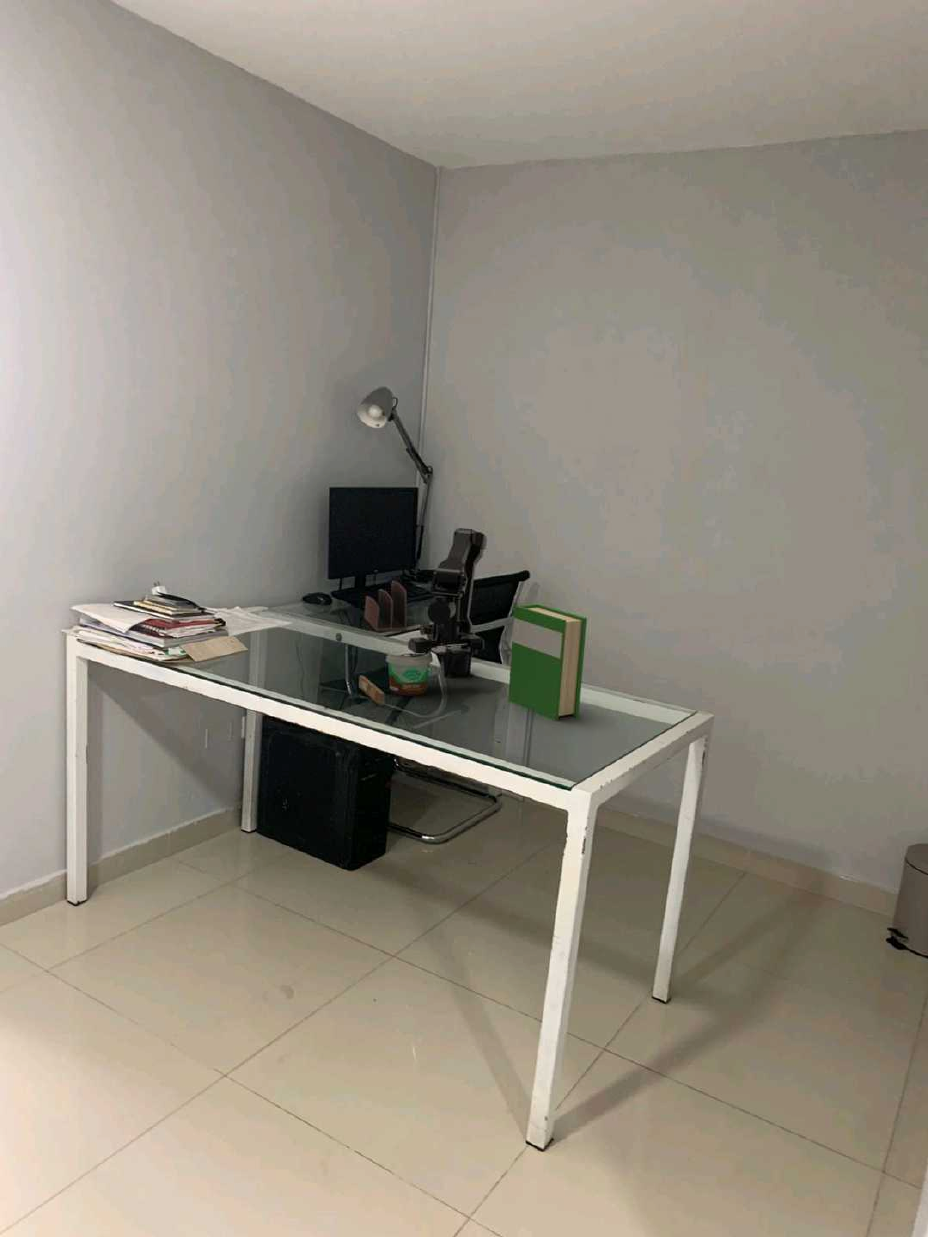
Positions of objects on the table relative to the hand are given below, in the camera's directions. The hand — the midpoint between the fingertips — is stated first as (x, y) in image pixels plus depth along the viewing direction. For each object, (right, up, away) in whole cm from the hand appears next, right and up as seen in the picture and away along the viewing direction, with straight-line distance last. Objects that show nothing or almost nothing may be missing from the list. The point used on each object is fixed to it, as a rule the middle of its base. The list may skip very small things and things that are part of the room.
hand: (444, 676), depth 235 cm
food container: (-8, -4, -3) cm, 9 cm away
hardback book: (+24, -7, -8) cm, 26 cm away
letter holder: (-21, +12, +73) cm, 77 cm away
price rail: (-18, -4, -7) cm, 20 cm away
